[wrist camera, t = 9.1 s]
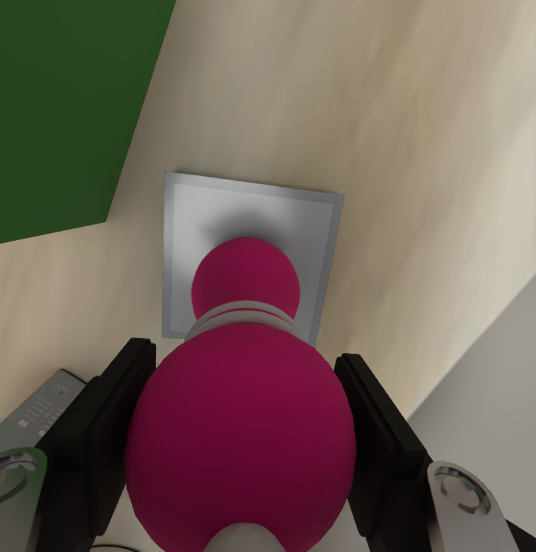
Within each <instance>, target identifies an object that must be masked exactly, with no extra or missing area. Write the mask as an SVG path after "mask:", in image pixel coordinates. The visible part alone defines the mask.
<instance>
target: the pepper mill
mask: <svg viewBox="0 0 536 552" xmlns="http://www.w3.org/2000/svg"><path fill="white" fill-rule="evenodd" d="M191 301H192V306H193V311H194V315H195V317H196V320H197V322H196V323H195V324H194V325H193V326H192V327H191V329H190V331H189V332H188V334H187V336H186V338H185V341H184V343H183V344H181V345H179V346H178V347H177V348H176V349H175V350H173V351H172V352H171V353H170V354H169V355H168V356H167V357H166V358H165V359H163V361H162V362H161V363H160V365H159V366H158V367H157V368H156V370H155V371H154V372H153V373H152V375H151V376H150V377H149V379H148V381H147V383H146V385H145V387H144V389H143V391H142V393H141V395H140V397H139V399H138V401H137V403H136V406H135V409H134V412H133V415H132V418H131V421H130V424H129V427H128V434H127V440H126V447H125V454H124V463H125V476H126V485H127V491H128V494H129V497H130V500H131V503H132V507H133V510H134V513H135V516H136V517H137V519H138V520H139V522H140V523H141V525H142V526H143V527H144V529H145V530H146V532H147V533H148V535H149V536H150V538H151V539H152V540H153V541H154V542H155V543H156V544H157V545H158V546H159V547H160V548H161V549H163V550H164V551H165V552H307V551H308V550H309V549H310V548H312V547H313V546H314V545H315V544H316V543H318V542H319V541H320V540H321V539H322V537H323V536H324V535H325V534H326V533H327V531H328V530H329V529H330V528H331V527H332V525H333V524H334V522H335V521H336V519H337V517H338V515H339V514H340V512H341V510H342V509H343V507H344V504H345V502H346V499H347V497H348V495H349V492H350V490H351V487H352V481H353V474H354V467H355V460H356V453H357V444H356V437H355V429H354V422H353V416H352V412H351V409H350V406H349V403H348V399H347V396H346V394H345V391H344V389H343V387H342V384H341V382H340V381H339V379H338V377H337V376H336V374H335V373H334V371H333V369H332V368H331V366H330V365H329V363H328V362H327V361H326V360H325V359H324V358H323V357H322V356H321V355H320V354H319V352H318V351H317V350H316V349H315V348H314V347H312V346H311V345H309V344H307V343H306V341H305V338H304V336H303V333H302V331H301V330H300V328H299V327H298V325H297V324H296V323H295V322H294V321H293V320H294V318H295V316H296V313H297V309H298V306H299V302H300V284H299V280H298V277H297V274H296V271H295V268H294V266H293V265H292V263H291V261H290V260H289V258H288V257H287V256H286V255H285V254H284V253H283V252H282V251H281V250H279V249H278V248H277V247H275V246H273V245H272V244H270V243H268V242H265V241H263V240H261V239H258V238H254V237H238V238H234V239H231V240H229V241H227V242H224V243H222V244H220V245H218V246H217V247H215V248H214V249H212V250H211V251H210V252H209V253H208V254H207V255H206V256H205V257H204V258H203V260H202V261H201V262H200V264H199V266H198V268H197V270H196V273H195V276H194V279H193V282H192V288H191Z"/></svg>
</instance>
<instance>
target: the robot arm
mask: <svg viewBox="0 0 536 552" xmlns="http://www.w3.org/2000/svg"><path fill="white" fill-rule="evenodd" d="M155 370H156V344H154V343H151V341H150V339H145V338H131V339H130V340H129V341H128V342H127V344H126V345H125V346H124V347H123V349H122V350H121V351H120V352H119V353H118V355H117V356H116V357H115V358H114V360H113V361H112V362H111V363H110V365H109V366H108V367H107V368H106V369H105V371H104V372H103V373H102V374H101V376H96V377H93V378H92V379H91V380H90V381H89V382H88V384H87V385H86V386H85V387H84V388H83V389H82V391H81V392H80V393H79V394H78V395H77V397H76V398H75V399H74V400H73V401H72V402H71V404H70V405H69V406H68V407H67V408H66V410H65V411H64V412H63V413H62V414H61V415H60V417H59V418H58V419H57V420H56V421H55V422H54V424H53V425H52V426H51V427H50V428H49V430H48V431H47V432H46V433H45V434H44V435H43V437H42V438H41V439H40V440H39V441H38V443H37V444H36V445H35V446H34V447H20V448H13V449H10V450H7V451H4V452H1V453H0V552H133V551H131V550H127V549H124V548H118V547H94V548H91V547H92V545H93V543H94V540H95V538H96V536H102V535H103V534H104V533H105V531H106V529H107V527H108V525H109V522H110V520H111V518H112V515H113V513H114V510H115V508H116V506H117V503H118V501H119V499H120V496H121V494H122V491H123V489H124V487H125V484H126V476H125V463H124V454H125V447H126V440H127V434H128V427H129V424H130V421H131V418H132V415H133V412H134V409H135V406H136V403H137V401H138V399H139V397H140V395H141V393H142V391H143V389H144V387H145V385H146V383H147V381H148V379H149V377H150V376H151V375H152V373H153V372H154V371H155ZM334 373H335V374H336V376H337V377H338V379H339V381H340V382H341V384H342V387H343V389H344V391H345V394H346V396H347V399H348V403H349V406H350V409H351V412H352V416H353V422H354V429H355V437H356V444H357V453H356V460H355V467H354V474H353V481H352V487H351V490H350V492H349V495H348V497H347V499H348V502H349V505H350V508H351V511H352V514H353V517H354V520H355V523H356V526H357V529H358V532H359V534H360V535H361V536H362V537H366V540H367V543H368V546H369V549H370V552H536V538H535V537H533V536H532V535H530V534H529V533H527V532H525V531H524V530H522V529H521V528H519V527H517V526H516V525H514V524H513V523H511V522H510V521H508V520H506V519H505V518H504V516H503V514H502V512H501V509H500V507H499V505H498V503H497V501H496V499H495V498H494V496H493V494H492V493H491V491H490V490H489V489H488V488H487V487H486V486H485V485H484V483H483V482H481V481H480V480H479V479H478V478H477V477H476V476H474V475H473V474H472V473H470V472H469V471H467V470H466V469H464V468H462V467H460V466H458V465H456V464H453V463H450V462H446V461H435V462H433V460H432V459H431V457H430V456H429V455H428V453H427V450H426V449H425V447H424V446H423V445H422V443H421V442H420V440H419V439H418V437H417V436H416V435H415V433H414V432H413V430H412V429H411V427H410V426H409V424H408V423H407V422H406V420H405V419H404V417H403V416H402V414H401V413H400V412H399V410H398V409H397V407H396V406H395V404H394V403H393V401H392V400H391V399H390V397H389V396H388V394H387V393H386V391H385V390H384V389H383V387H382V386H381V384H380V383H379V381H378V380H377V378H376V377H375V376H374V374H373V373H372V371H371V370H370V368H369V367H368V366H367V364H366V363H365V361H364V360H363V358H362V357H361V356H360V355H359V354H349V353H343V354H342V356H341V357H337V359H336V363H335V368H334Z"/></svg>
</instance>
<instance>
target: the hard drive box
mask: <svg viewBox="0 0 536 552" xmlns="http://www.w3.org/2000/svg"><path fill="white" fill-rule="evenodd" d="M85 386H86V385H85V384H84V383H82V382H81V381H79V380H77V379H76V378H74V377H73V376H71V375H69V374H68V373H66V372H64V371H63V370H59V371H57V372H56V373H55V374H54V375H53V376H52V377H51V378H50V379H49V380H47V381H46V382H45V383H44V384H43V385H42V386H41V387H40V388H39V389H37V390H36V391H35V392H34V393H33V394H32V395H31V396H30V397H29V398H28V399H26V400H25V401H24V402H23V403H22V404H21V405H20V406H19V407H18V408H17V409H16V410H14V411H13V412H12V413H11V414H10V415H9V416H8V417H7V418H6V419H5V420H4V421H2V422H1V423H0V453H1V452H4V451H7V450H10V449H13V448H20V447H34V446H35V445H36V444H37V443H38V441H39V440H40V439H41V438H42V437H43V435H44V434H45V433H46V432H47V431H48V430H49V428H50V427H51V426H52V425H53V424H54V422H55V421H56V420H57V419H58V418H59V417H60V415H61V414H62V413H63V412H64V411H65V410H66V408H67V407H68V406H69V405H70V404H71V402H72V401H73V400H74V399H75V398H76V397H77V395H78V394H79V393H80V392H81V391H82V389H83V388H84V387H85Z"/></svg>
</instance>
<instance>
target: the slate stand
mask: <svg viewBox="0 0 536 552" xmlns="http://www.w3.org/2000/svg"><path fill="white" fill-rule="evenodd" d="M343 200H344V195H339V194H332V193H324V192H317V191H309V190H302V189H294V188H287V187H280V186H272V185H265V184H257V183H250V182H242V181H235V180H227V179H220V178H212V177H205V176H197V175H190V174H183V173H175V172H168V171H165V183H164V239H163V295H162V337H166V338H179V339H185V338H186V336H187V334H188V332H189V331H190V329H191V327H192V326H193V325H194V324H195V323H196V322H197V320H196V317H195V315H194V311H193V306H192V301H191V288H192V282H193V279H194V276H195V273H196V270H197V268H198V266H199V264H200V262H201V261H202V260H203V258H204V257H205V256H206V255H207V254H208V253H209V252H210V251H211V250H212V249H214V248H215V247H217V246H218V245H220V244H222V243H224V242H227V241H229V240H231V239H234V238H238V237H254V238H258V239H261V240H263V241H265V242H268V243H270V244H272V245H273V246H275V247H277V248H278V249H279V250H281V251H282V252H283V253H284V254H285V255H286V256H287V257H288V258H289V260H290V261H291V263H292V265H293V266H294V268H295V271H296V274H297V277H298V280H299V284H300V302H299V306H298V309H297V313H296V316H295V318H294V320H293V321H294V322H295V323H296V324H297V325H298V327H299V328H300V330H301V331H302V333H303V336H304V338H305V341H306V343H307V344H309V345H311V346H312V347H314V348H315V343H316V338H317V333H318V328H319V323H320V318H321V313H322V307H323V302H324V297H325V292H326V287H327V282H328V277H329V272H330V266H331V261H332V256H333V251H334V246H335V241H336V236H337V231H338V225H339V220H340V215H341V210H342V205H343Z"/></svg>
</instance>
